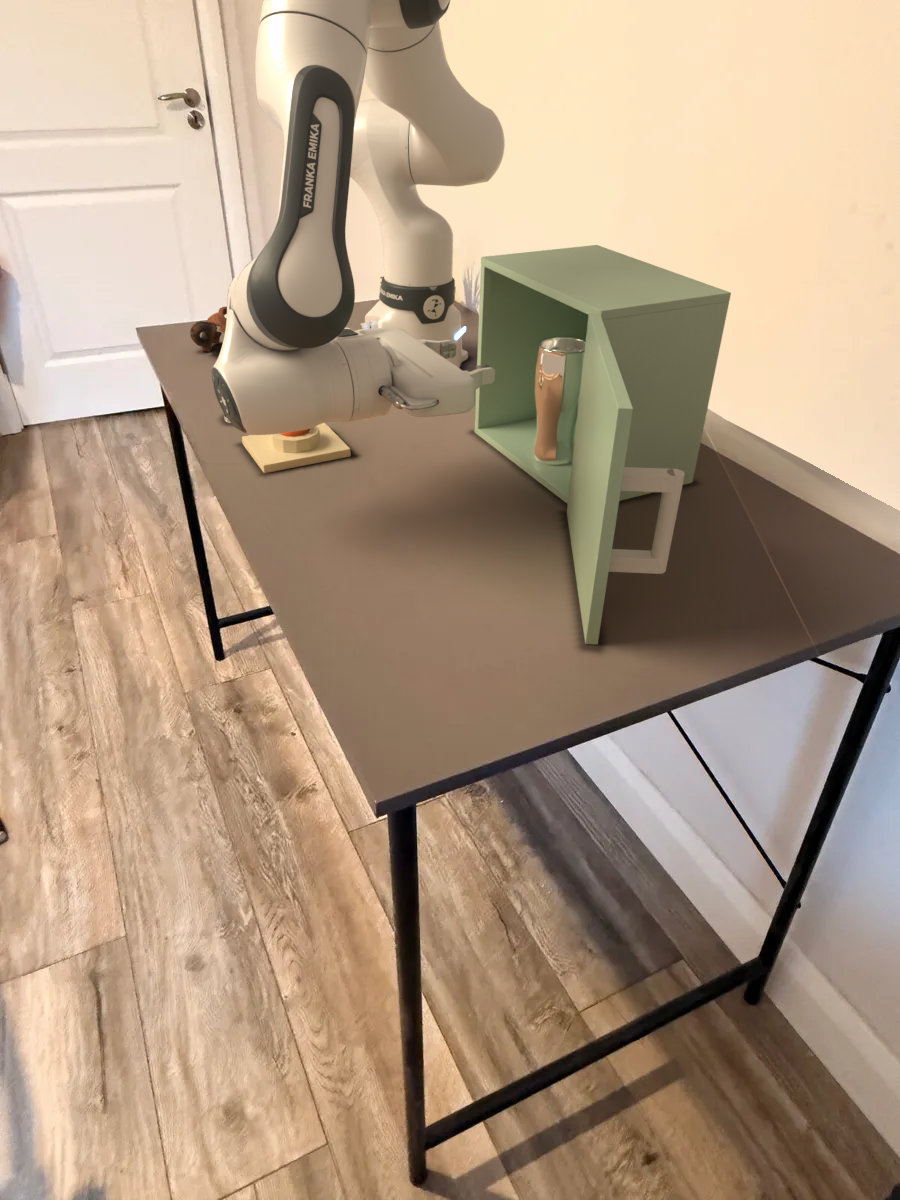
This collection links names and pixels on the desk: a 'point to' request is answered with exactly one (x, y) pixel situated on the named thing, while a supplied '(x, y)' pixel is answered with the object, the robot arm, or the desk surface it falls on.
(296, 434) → the button
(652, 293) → the green cabinet
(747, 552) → the desk surface
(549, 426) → the beer glass
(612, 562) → the green cabinet door
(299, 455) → the control box
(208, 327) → the brown curved piece
